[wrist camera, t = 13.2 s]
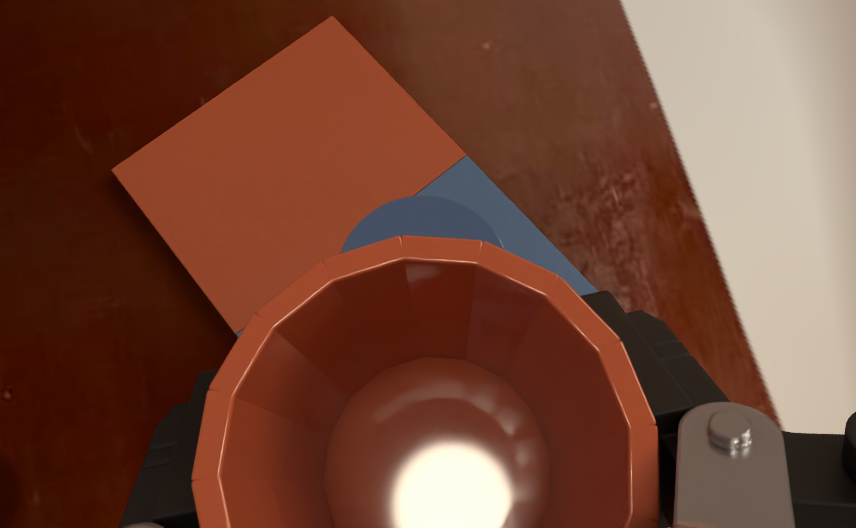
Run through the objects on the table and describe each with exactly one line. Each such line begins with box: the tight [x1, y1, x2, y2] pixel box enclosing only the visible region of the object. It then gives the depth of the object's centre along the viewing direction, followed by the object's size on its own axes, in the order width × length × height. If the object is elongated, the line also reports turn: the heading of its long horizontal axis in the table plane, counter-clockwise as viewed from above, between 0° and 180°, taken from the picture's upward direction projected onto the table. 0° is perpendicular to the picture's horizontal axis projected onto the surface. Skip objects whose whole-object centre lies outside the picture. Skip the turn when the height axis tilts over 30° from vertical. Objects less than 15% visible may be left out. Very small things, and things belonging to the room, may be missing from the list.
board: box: [112, 16, 598, 338], centre depth 33 cm, size 14×22×1 cm, turn 40°
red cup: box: [191, 235, 660, 528], centre depth 13 cm, size 6×6×8 cm
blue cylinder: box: [340, 195, 505, 254], centre depth 27 cm, size 6×6×8 cm
